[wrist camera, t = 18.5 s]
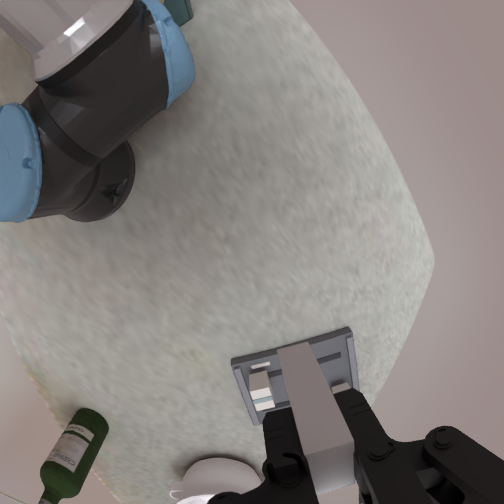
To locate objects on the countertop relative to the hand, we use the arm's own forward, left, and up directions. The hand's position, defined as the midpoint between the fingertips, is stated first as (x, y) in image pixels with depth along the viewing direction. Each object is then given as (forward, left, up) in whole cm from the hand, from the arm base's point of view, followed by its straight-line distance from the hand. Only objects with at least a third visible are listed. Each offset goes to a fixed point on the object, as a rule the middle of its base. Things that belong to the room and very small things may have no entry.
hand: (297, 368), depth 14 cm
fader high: (-5, -20, -29) cm, 36 cm away
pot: (-20, -46, -32) cm, 60 cm away
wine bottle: (-43, -26, -32) cm, 60 cm away
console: (+1, -23, -32) cm, 39 cm away
